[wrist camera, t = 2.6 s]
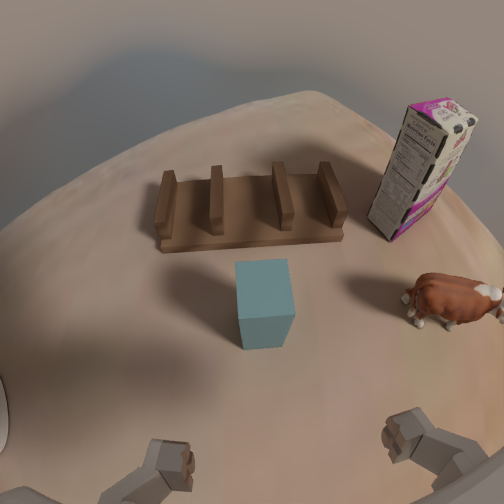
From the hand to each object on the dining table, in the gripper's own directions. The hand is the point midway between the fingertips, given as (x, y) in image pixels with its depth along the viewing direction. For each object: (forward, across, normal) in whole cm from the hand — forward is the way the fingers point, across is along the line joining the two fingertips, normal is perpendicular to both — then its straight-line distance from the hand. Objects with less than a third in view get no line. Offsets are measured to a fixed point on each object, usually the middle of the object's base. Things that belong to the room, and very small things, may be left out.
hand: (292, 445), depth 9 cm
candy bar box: (+26, -20, -6) cm, 33 cm away
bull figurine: (+15, -20, +5) cm, 25 cm away
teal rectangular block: (+16, 0, +3) cm, 16 cm away
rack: (+26, 0, -7) cm, 27 cm away
